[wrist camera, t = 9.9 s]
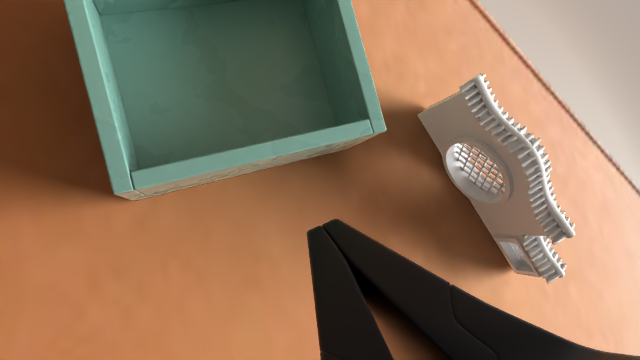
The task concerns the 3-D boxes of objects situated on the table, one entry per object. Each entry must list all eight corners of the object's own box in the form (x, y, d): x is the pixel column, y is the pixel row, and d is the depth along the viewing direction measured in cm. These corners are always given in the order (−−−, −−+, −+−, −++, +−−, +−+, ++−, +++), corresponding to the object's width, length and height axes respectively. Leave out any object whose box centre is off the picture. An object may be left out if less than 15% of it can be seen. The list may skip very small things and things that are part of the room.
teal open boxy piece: (349, 148, 22) (387, 130, 18) (133, 201, 19) (113, 195, 14) (305, -12, 23) (332, -69, 18) (84, 11, 19) (49, -53, 15)
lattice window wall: (528, 261, 25) (624, 273, 20) (510, 279, 25) (603, 296, 19) (429, 99, 24) (499, 62, 19) (408, 114, 24) (473, 80, 18)
